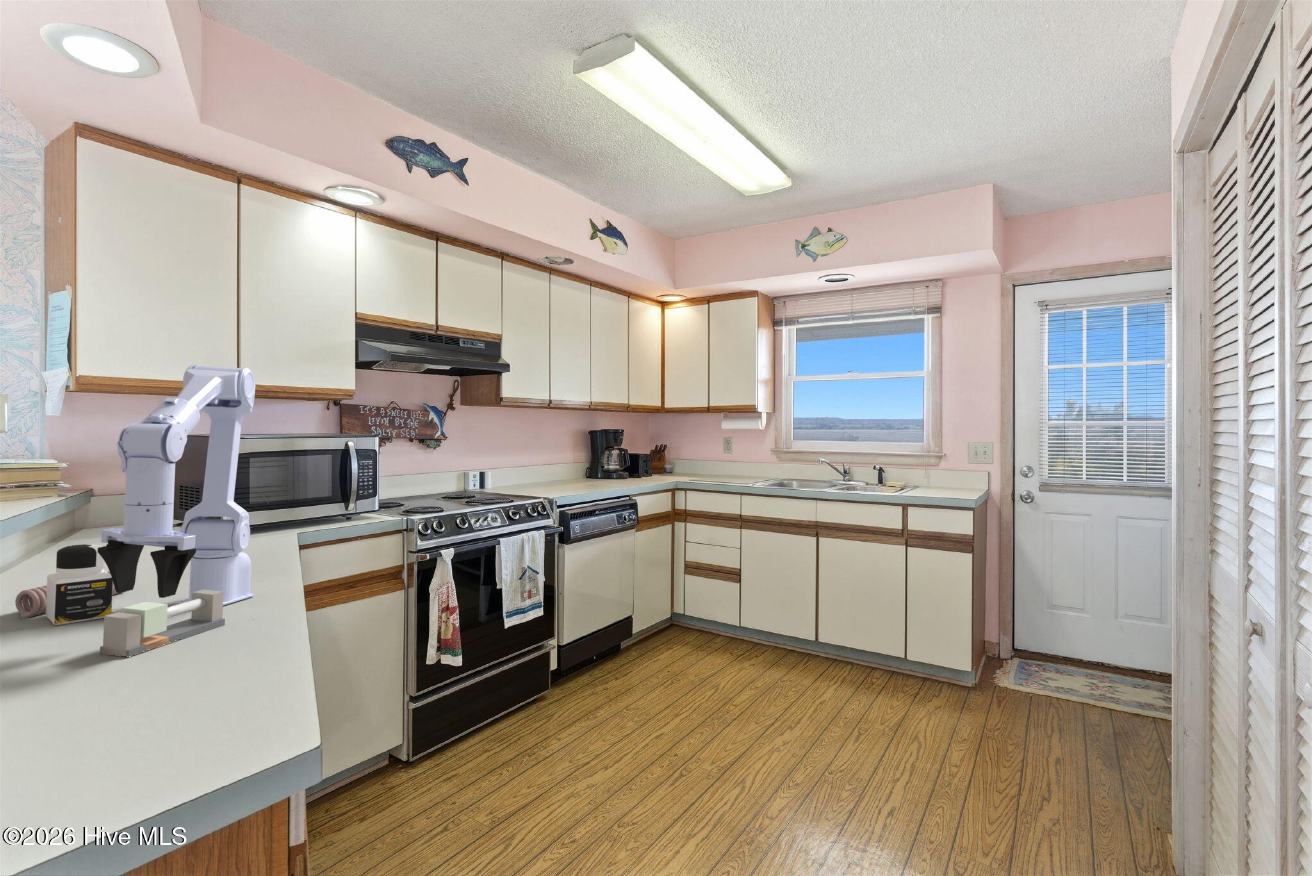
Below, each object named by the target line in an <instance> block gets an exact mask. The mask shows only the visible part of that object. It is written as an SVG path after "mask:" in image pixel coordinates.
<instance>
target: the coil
mask: <svg viewBox="0 0 1312 876" xmlns="http://www.w3.org/2000/svg"><path fill="white" fill-rule="evenodd" d="M106 572H107V573H109V574H110V571H109V570H108V571H106ZM110 575H111V574H110ZM126 592H128V591H126ZM126 592H125V593H126ZM123 593H124V592H121V593H120V594H123ZM118 594H119V593H116V590H115V587H114V583H113V590H112V596H116V595H118ZM46 596H47V584H46V585H42V586H37V587H34V588H29V589H25V590H21V591H20V592H19V593H18V594H17V595H16V597H15V601H14V602H15V608H16V609H17V612H18V613H19V614H21V615H20V616H19V617H20V619H29V618H31V617H37V616H39V615H44V614H46Z"/></svg>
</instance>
